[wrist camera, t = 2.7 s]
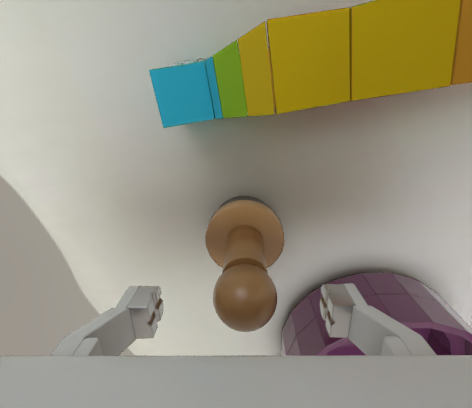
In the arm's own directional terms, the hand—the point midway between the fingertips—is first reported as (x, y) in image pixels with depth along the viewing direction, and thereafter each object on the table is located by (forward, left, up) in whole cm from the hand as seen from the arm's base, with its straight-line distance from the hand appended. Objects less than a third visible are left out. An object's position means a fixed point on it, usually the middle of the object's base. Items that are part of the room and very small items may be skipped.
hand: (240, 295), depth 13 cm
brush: (-1, 0, -7) cm, 7 cm away
